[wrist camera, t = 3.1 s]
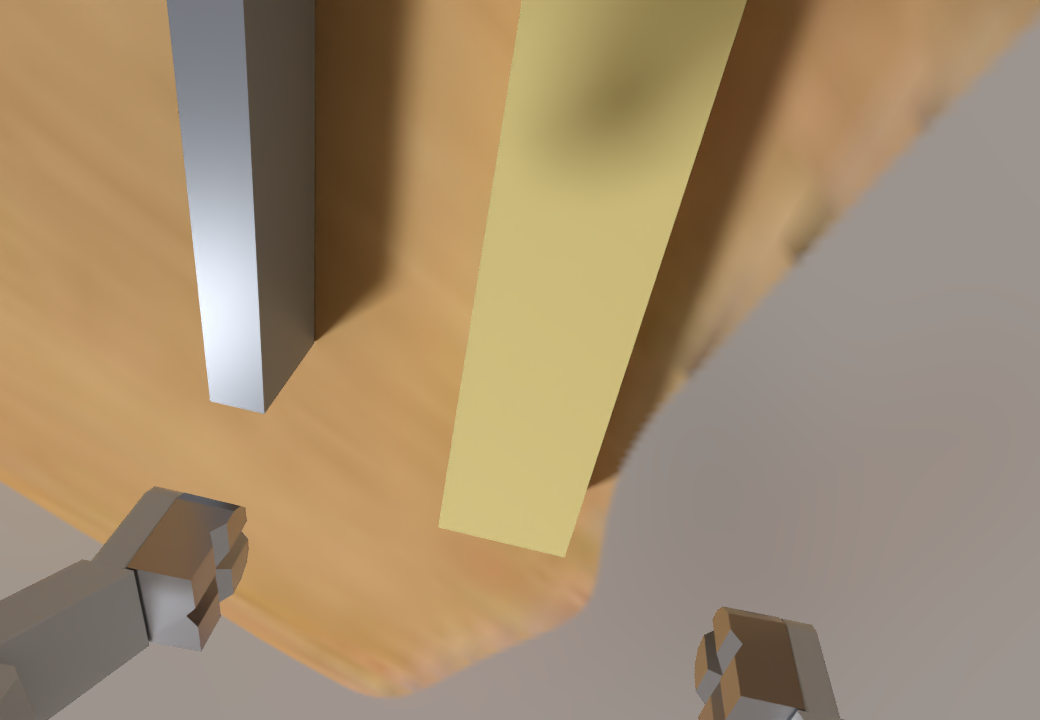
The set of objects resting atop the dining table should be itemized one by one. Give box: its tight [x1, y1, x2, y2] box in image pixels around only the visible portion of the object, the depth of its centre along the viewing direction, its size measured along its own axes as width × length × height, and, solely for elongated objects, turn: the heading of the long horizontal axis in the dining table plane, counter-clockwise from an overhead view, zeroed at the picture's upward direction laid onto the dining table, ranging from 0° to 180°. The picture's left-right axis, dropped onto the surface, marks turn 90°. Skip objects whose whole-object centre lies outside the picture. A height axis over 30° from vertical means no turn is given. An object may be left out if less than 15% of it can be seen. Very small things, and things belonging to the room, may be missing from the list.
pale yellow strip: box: [438, 0, 747, 557], centre depth 18 cm, size 4×16×3 cm, turn 170°
